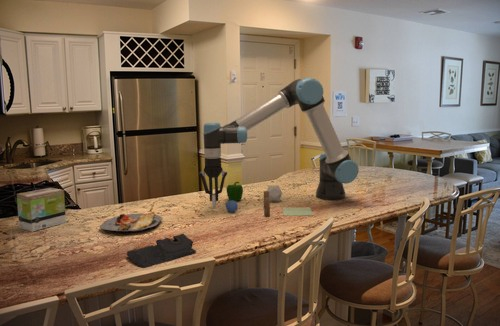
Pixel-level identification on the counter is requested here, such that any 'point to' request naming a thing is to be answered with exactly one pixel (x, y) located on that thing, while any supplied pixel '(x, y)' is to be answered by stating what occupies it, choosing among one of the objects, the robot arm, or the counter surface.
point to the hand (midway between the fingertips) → (214, 208)
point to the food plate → (131, 222)
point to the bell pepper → (234, 192)
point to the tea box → (41, 209)
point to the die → (274, 193)
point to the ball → (231, 206)
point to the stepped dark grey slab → (162, 251)
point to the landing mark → (297, 211)
